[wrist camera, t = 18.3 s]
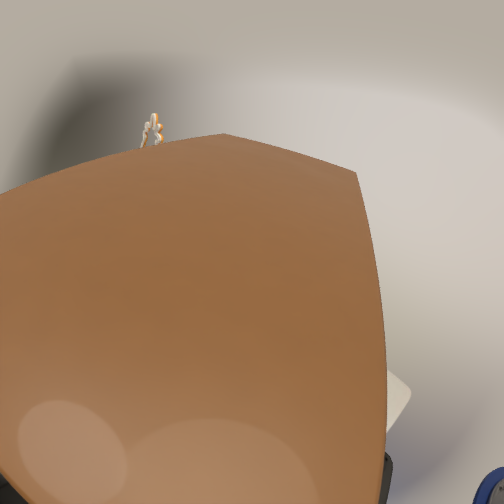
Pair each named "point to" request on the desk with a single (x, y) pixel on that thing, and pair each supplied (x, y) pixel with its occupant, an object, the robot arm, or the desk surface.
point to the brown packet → (191, 330)
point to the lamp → (156, 128)
